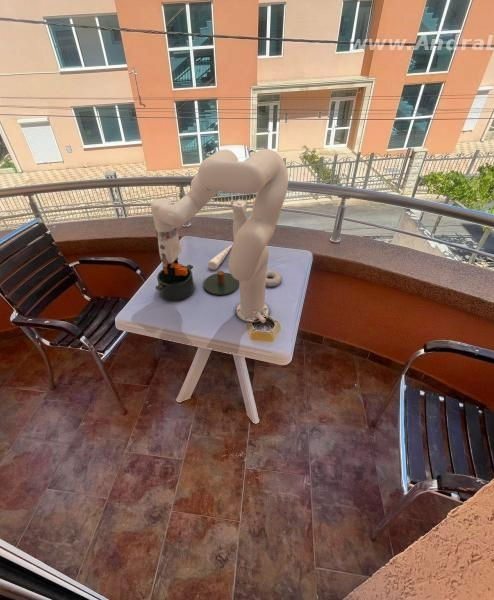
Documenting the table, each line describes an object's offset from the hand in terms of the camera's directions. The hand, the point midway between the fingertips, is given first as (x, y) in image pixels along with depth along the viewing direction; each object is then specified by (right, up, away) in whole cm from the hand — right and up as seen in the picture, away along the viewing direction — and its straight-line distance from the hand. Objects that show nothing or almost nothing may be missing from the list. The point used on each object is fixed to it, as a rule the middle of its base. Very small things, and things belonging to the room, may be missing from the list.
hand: (173, 271), depth 133 cm
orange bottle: (0, 0, 0) cm, 1 cm away
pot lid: (+20, -5, +8) cm, 22 cm away
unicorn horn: (+20, +9, +25) cm, 33 cm away
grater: (+26, +31, +30) cm, 51 cm away
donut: (+42, -4, +9) cm, 43 cm away
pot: (+1, -8, +7) cm, 11 cm away
